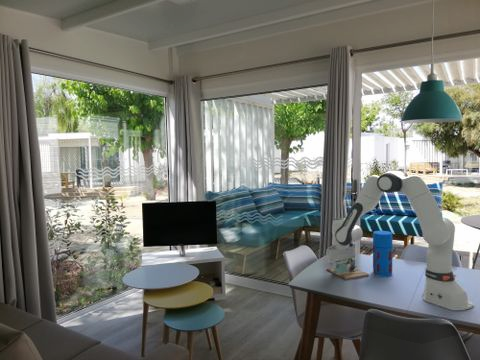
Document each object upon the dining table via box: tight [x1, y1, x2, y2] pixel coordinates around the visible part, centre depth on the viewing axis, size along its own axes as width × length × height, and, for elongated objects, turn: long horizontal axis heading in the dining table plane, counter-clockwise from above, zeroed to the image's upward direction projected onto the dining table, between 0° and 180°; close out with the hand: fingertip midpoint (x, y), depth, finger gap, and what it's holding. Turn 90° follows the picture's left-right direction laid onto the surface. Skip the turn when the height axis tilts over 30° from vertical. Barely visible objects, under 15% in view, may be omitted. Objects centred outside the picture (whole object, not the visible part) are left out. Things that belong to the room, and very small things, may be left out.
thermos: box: [372, 230, 393, 278], centre depth 223 cm, size 11×11×25 cm
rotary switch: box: [334, 261, 348, 274], centre depth 225 cm, size 6×6×6 cm
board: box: [326, 264, 370, 281], centre depth 227 cm, size 20×17×2 cm
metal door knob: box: [348, 258, 358, 271], centre depth 228 cm, size 5×5×7 cm
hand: (340, 267), depth 225 cm, fingers open, 6 cm apart
